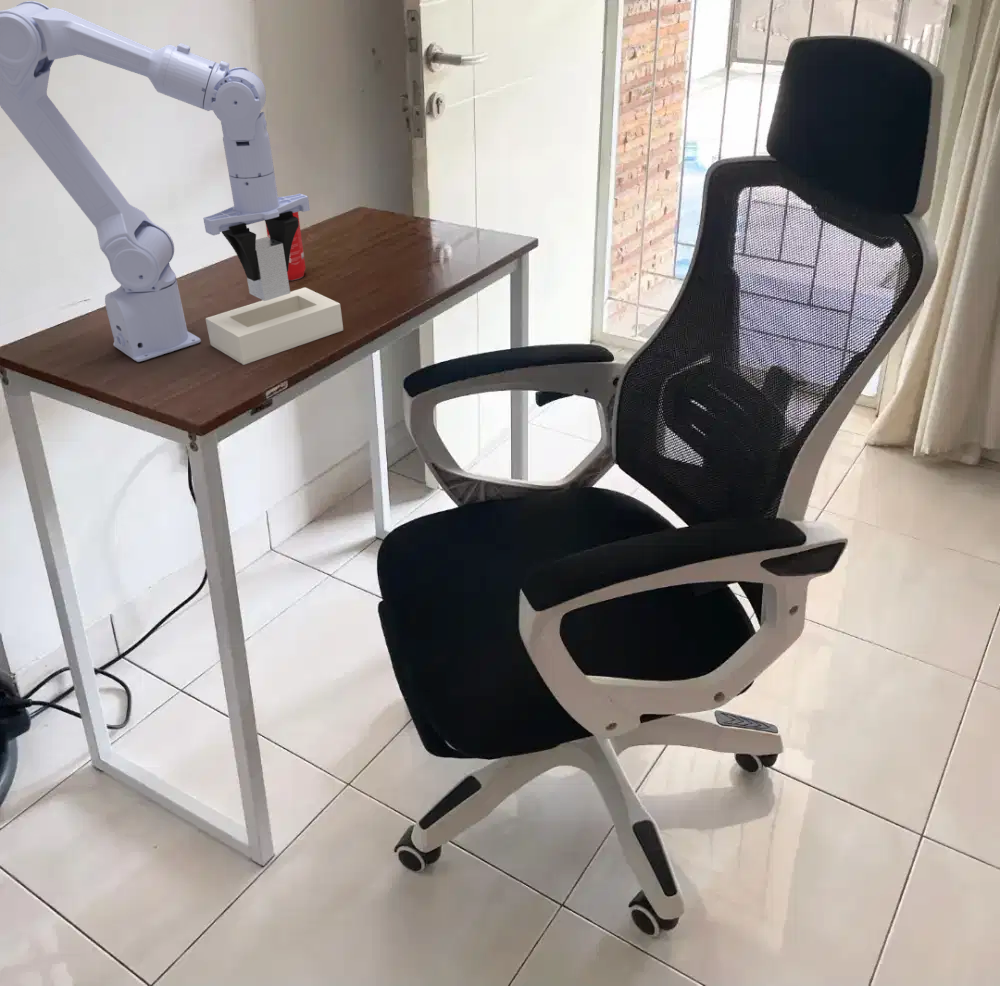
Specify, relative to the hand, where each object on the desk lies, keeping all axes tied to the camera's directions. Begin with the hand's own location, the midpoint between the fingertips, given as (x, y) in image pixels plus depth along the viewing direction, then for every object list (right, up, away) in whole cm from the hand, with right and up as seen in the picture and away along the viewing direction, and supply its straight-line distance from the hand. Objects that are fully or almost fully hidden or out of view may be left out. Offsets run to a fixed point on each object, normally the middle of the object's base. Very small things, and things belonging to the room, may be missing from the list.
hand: (267, 274), depth 136 cm
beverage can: (-2, +5, +26) cm, 26 cm away
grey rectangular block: (0, -2, +2) cm, 3 cm away
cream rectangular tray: (0, -8, +5) cm, 9 cm away
